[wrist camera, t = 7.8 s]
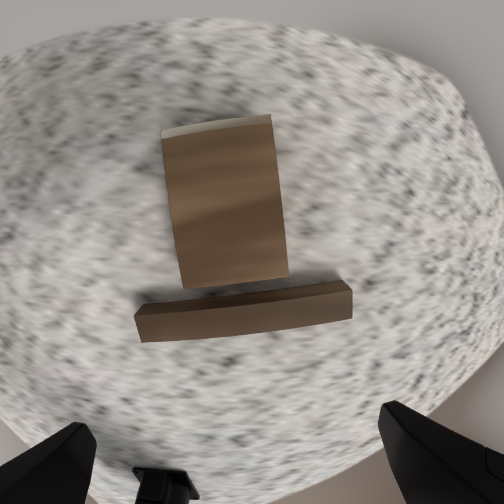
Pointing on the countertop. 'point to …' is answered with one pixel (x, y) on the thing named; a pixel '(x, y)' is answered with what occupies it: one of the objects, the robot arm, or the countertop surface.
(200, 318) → the strip
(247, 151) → the slab
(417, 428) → the robot arm
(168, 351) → the countertop surface
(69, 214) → the countertop surface
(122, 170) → the countertop surface
